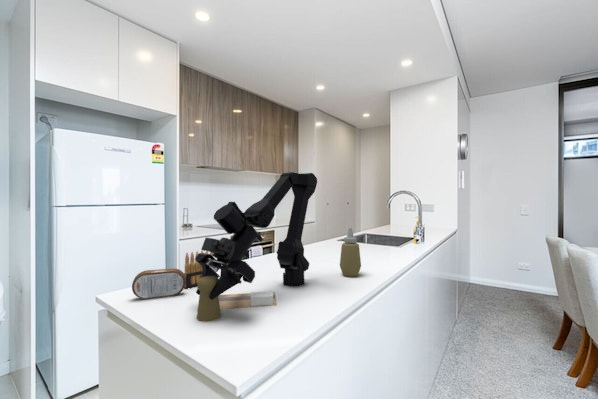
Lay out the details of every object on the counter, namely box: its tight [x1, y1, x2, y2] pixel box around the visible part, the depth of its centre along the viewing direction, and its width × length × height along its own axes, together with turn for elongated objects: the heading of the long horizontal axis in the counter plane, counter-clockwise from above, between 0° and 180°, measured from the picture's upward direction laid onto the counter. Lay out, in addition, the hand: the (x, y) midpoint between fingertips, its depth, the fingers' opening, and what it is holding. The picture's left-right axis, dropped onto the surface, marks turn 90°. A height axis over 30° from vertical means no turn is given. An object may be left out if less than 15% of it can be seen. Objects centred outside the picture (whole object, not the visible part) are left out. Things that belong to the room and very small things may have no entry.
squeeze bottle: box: [339, 227, 362, 278], centre depth 110 cm, size 8×8×18 cm
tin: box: [131, 267, 186, 300], centre depth 89 cm, size 15×3×8 cm, turn 110°
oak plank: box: [218, 291, 278, 310], centre depth 82 cm, size 20×11×1 cm, turn 98°
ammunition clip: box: [183, 250, 214, 290], centre depth 100 cm, size 11×2×12 cm, turn 133°
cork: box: [196, 276, 222, 323], centre depth 71 cm, size 6×6×11 cm
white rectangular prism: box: [250, 290, 274, 307], centre depth 80 cm, size 6×4×2 cm, turn 98°
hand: (203, 296), depth 70 cm, fingers closed on cork, 5 cm apart
